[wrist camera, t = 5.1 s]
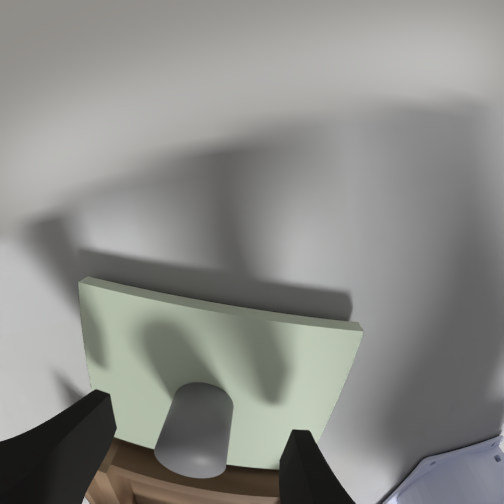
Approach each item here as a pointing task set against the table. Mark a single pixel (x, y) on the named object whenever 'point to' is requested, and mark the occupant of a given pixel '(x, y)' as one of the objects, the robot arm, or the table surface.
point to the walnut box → (175, 481)
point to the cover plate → (211, 374)
